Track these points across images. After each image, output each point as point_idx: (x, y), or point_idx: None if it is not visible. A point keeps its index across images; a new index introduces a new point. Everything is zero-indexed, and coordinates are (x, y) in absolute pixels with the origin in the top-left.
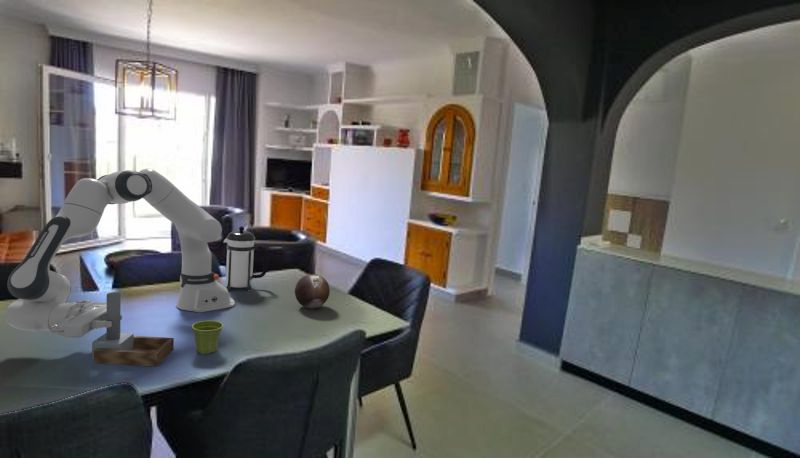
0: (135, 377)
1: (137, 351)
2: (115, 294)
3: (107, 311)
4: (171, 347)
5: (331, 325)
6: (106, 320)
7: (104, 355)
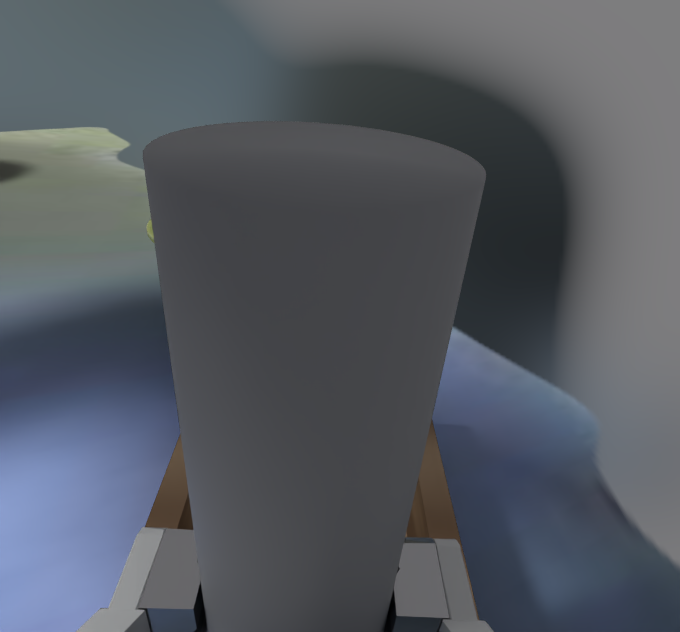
0: (549, 479)
1: (427, 468)
2: (349, 141)
3: (404, 526)
4: None
5: (70, 170)
6: (428, 611)
7: None
